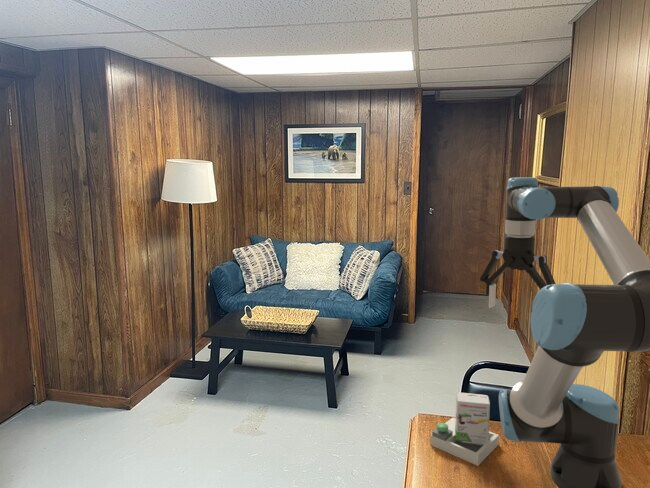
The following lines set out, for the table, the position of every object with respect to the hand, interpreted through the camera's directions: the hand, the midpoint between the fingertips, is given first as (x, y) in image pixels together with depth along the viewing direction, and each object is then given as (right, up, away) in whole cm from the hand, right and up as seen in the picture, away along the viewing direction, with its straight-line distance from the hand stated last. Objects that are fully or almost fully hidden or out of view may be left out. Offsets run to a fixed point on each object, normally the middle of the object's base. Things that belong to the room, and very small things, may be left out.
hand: (515, 311), depth 131 cm
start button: (-20, -34, +1) cm, 39 cm away
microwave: (-14, -37, +1) cm, 40 cm away
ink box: (-12, -35, 0) cm, 37 cm away
